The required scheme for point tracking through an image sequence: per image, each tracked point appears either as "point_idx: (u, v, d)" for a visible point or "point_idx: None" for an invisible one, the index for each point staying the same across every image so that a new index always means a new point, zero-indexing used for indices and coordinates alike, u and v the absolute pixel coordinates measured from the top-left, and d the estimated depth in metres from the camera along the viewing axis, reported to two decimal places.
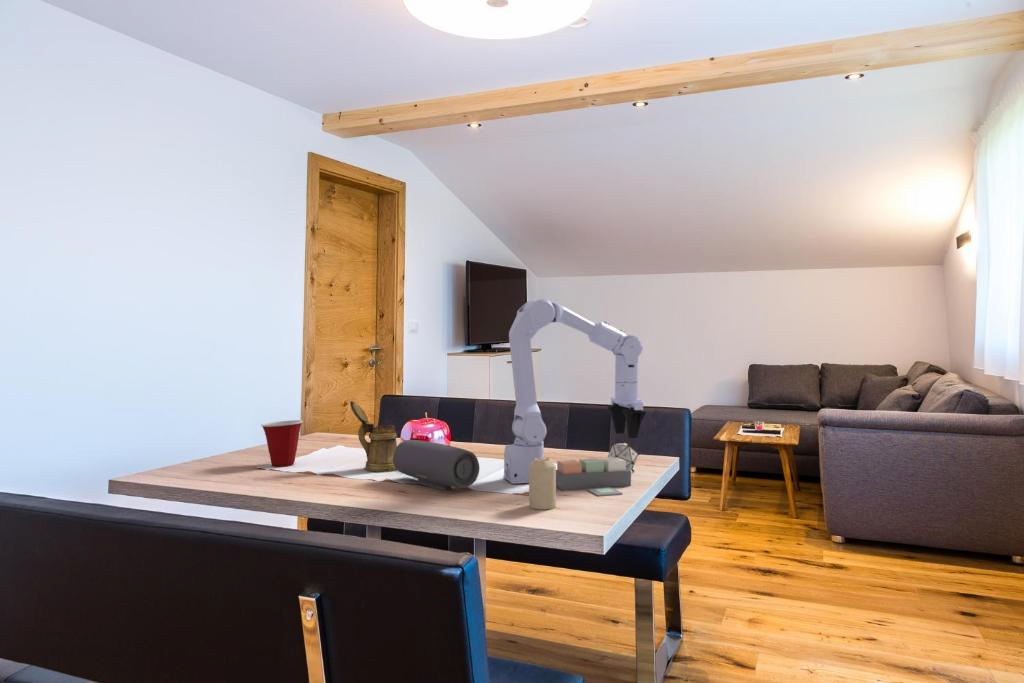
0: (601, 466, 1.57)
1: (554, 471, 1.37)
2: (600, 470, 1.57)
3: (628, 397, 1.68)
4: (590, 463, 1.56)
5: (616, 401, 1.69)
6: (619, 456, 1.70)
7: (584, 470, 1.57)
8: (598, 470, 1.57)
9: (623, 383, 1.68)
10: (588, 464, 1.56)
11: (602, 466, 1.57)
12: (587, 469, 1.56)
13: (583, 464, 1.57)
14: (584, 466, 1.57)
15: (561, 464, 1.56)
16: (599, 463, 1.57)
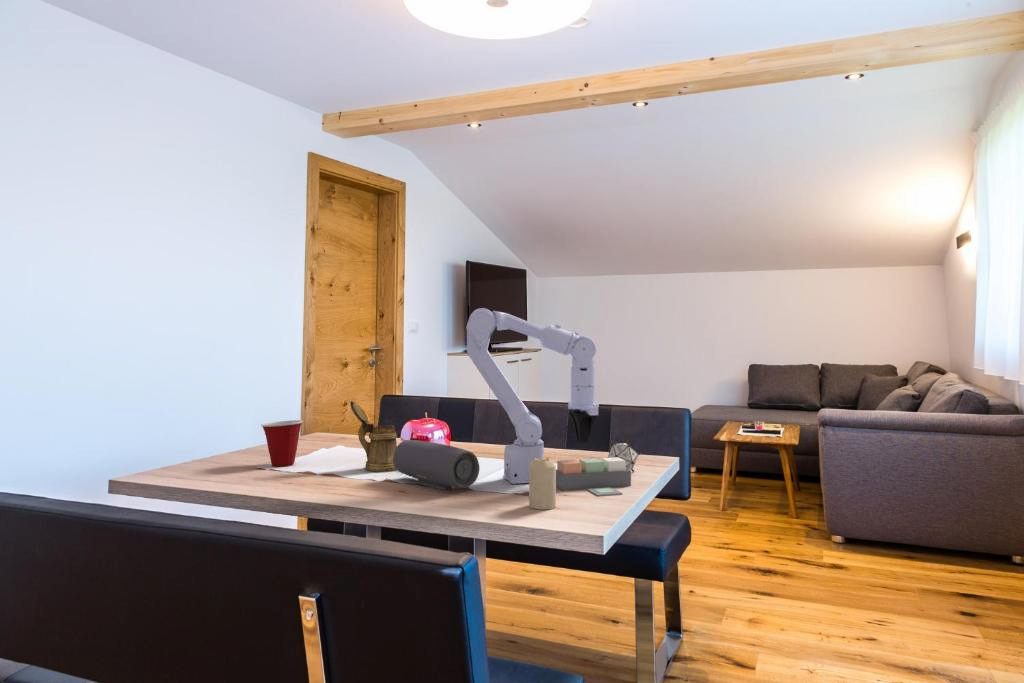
0: (601, 466, 1.57)
1: (554, 471, 1.37)
2: (600, 470, 1.57)
3: (584, 402, 1.61)
4: (590, 463, 1.56)
5: (572, 406, 1.62)
6: (619, 456, 1.70)
7: (584, 470, 1.57)
8: (598, 470, 1.57)
9: (578, 387, 1.61)
10: (588, 464, 1.56)
11: (602, 466, 1.57)
12: (587, 469, 1.56)
13: (583, 464, 1.57)
14: (584, 466, 1.57)
15: (561, 464, 1.56)
16: (599, 463, 1.57)
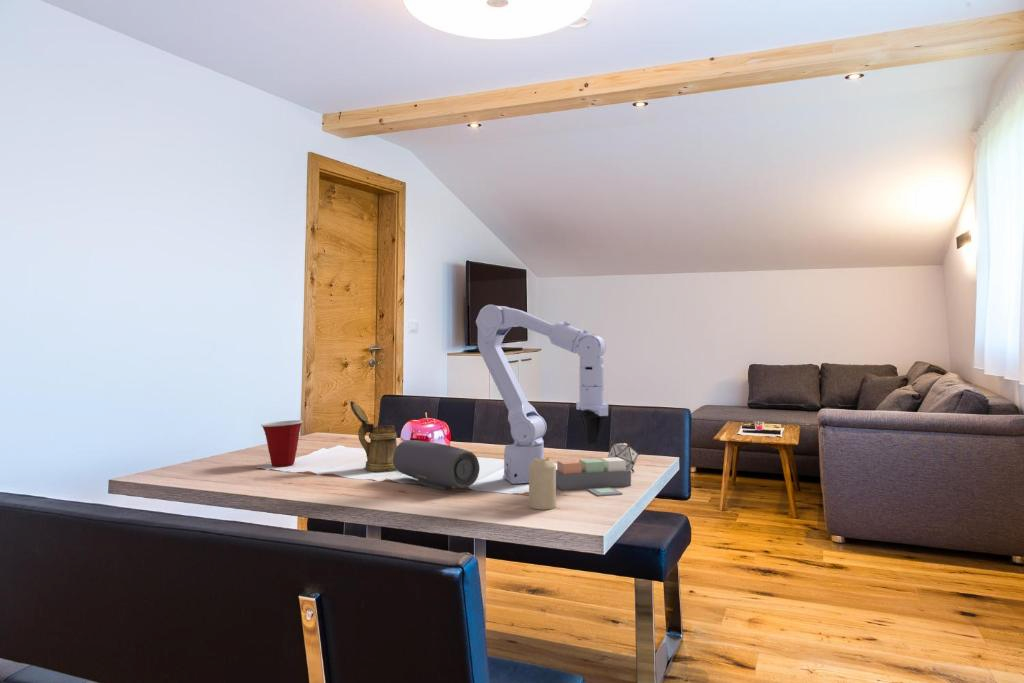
0: (601, 466, 1.57)
1: (554, 471, 1.37)
2: (600, 470, 1.57)
3: (593, 402, 1.55)
4: (590, 463, 1.56)
5: (580, 406, 1.57)
6: (619, 456, 1.70)
7: (584, 470, 1.57)
8: (598, 470, 1.57)
9: (587, 387, 1.56)
10: (588, 464, 1.56)
11: (602, 466, 1.57)
12: (587, 469, 1.56)
13: (583, 464, 1.57)
14: (584, 466, 1.57)
15: (561, 464, 1.56)
16: (599, 463, 1.57)
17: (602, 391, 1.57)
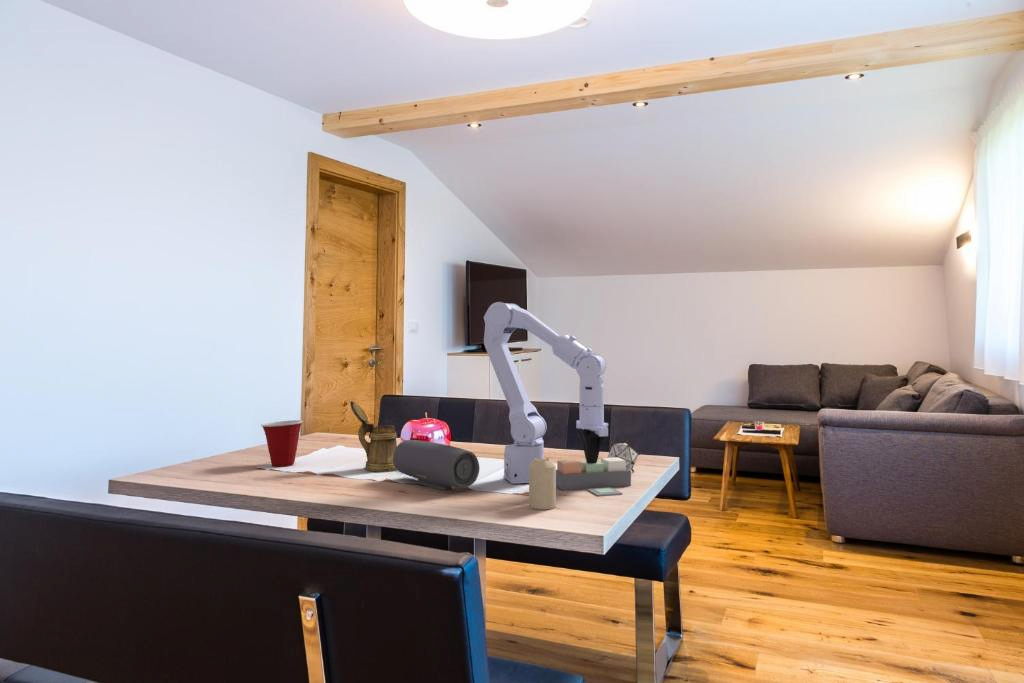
0: (601, 468, 1.57)
1: (554, 471, 1.37)
2: None
3: (593, 422, 1.56)
4: (590, 465, 1.56)
5: (580, 426, 1.57)
6: (619, 456, 1.70)
7: None
8: None
9: (587, 407, 1.56)
10: (588, 466, 1.56)
11: (602, 468, 1.57)
12: (587, 471, 1.56)
13: (583, 466, 1.57)
14: (584, 468, 1.57)
15: (561, 464, 1.56)
16: (599, 465, 1.57)
17: (602, 411, 1.57)
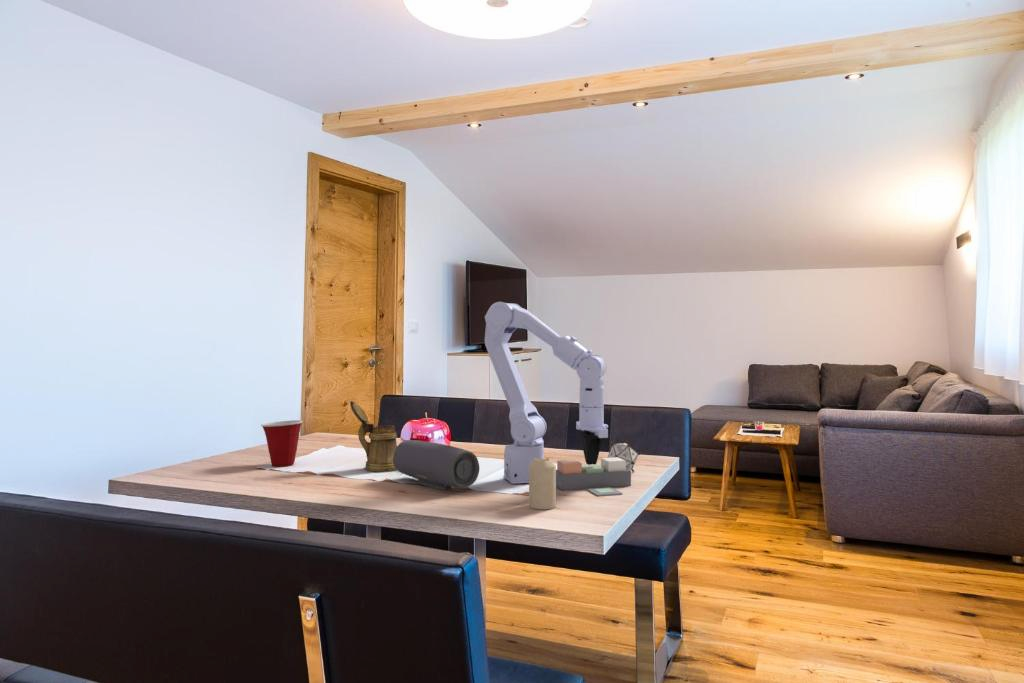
0: None
1: (554, 471, 1.37)
2: None
3: (593, 423, 1.56)
4: (590, 469, 1.56)
5: (580, 427, 1.57)
6: (619, 456, 1.70)
7: None
8: None
9: (587, 408, 1.56)
10: (588, 470, 1.56)
11: None
12: None
13: (583, 470, 1.57)
14: None
15: (561, 464, 1.56)
16: (598, 470, 1.57)
17: (602, 412, 1.57)
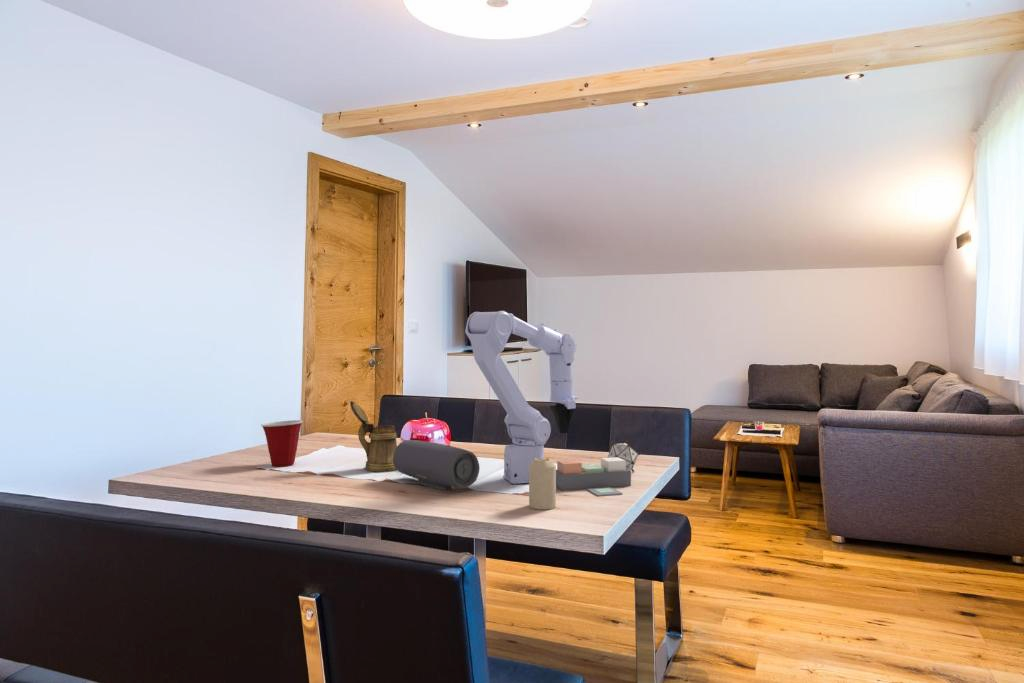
0: None
1: (554, 471, 1.37)
2: None
3: (562, 396, 1.70)
4: (590, 469, 1.56)
5: (551, 400, 1.72)
6: (619, 456, 1.70)
7: None
8: None
9: (557, 382, 1.70)
10: (588, 470, 1.56)
11: None
12: None
13: (583, 470, 1.57)
14: None
15: (561, 464, 1.56)
16: (598, 470, 1.57)
17: (571, 385, 1.71)
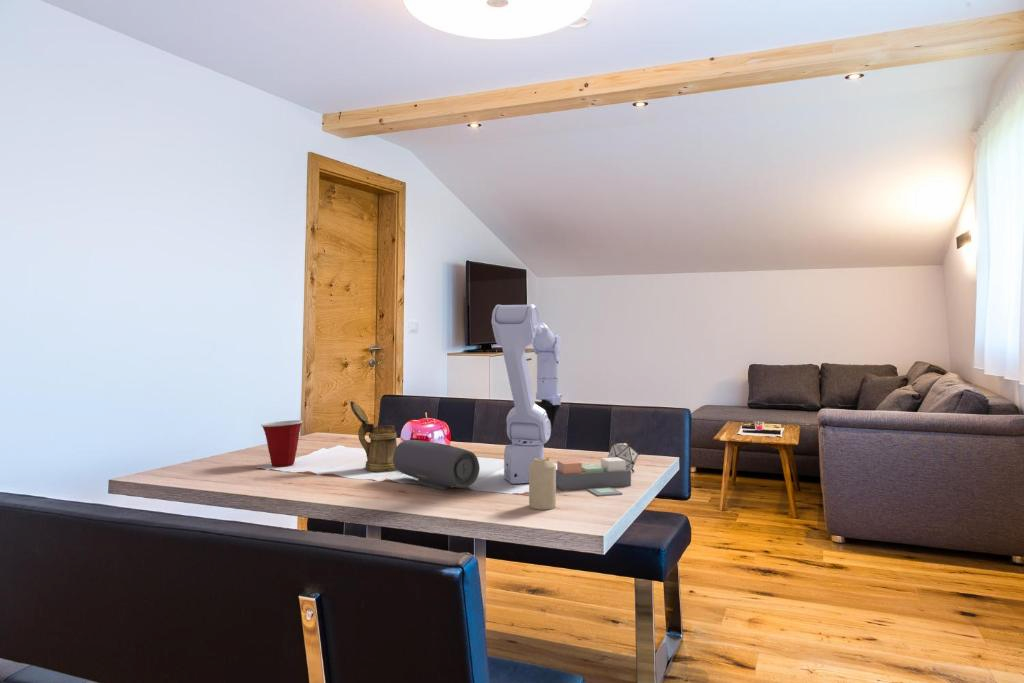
0: None
1: (554, 471, 1.37)
2: None
3: (548, 393, 1.75)
4: (590, 469, 1.56)
5: (537, 396, 1.77)
6: (619, 456, 1.70)
7: None
8: None
9: (543, 379, 1.75)
10: (588, 470, 1.56)
11: None
12: None
13: (583, 470, 1.57)
14: None
15: (561, 464, 1.56)
16: (598, 470, 1.57)
17: (557, 383, 1.77)
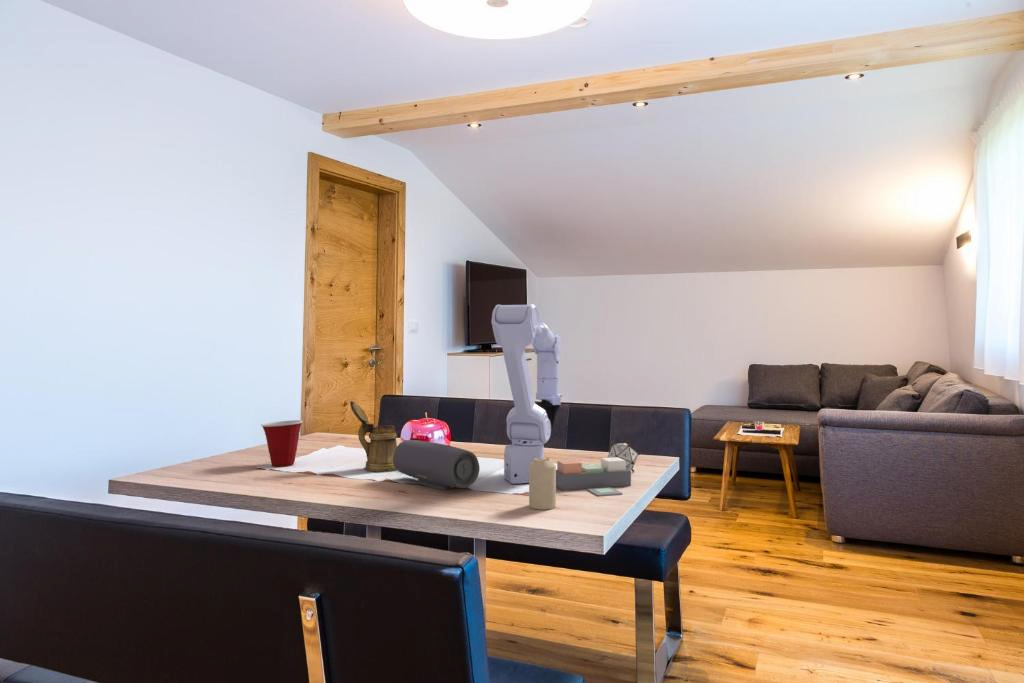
0: None
1: (554, 471, 1.37)
2: None
3: (548, 393, 1.75)
4: (590, 469, 1.56)
5: (537, 396, 1.77)
6: (619, 456, 1.70)
7: None
8: None
9: (543, 379, 1.75)
10: (588, 470, 1.56)
11: None
12: None
13: (583, 470, 1.57)
14: None
15: (561, 464, 1.56)
16: (598, 470, 1.57)
17: (557, 383, 1.77)
